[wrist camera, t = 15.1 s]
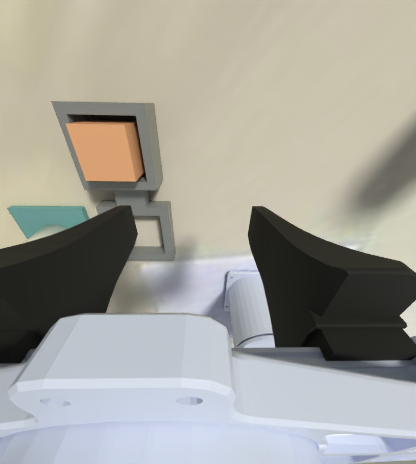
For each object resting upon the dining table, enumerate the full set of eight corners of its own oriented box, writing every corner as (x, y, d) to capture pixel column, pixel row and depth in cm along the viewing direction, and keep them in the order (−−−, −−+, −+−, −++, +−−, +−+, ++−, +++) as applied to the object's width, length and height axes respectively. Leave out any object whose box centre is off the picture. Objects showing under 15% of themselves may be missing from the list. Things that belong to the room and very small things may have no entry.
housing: (175, 252, 25) (172, 268, 23) (119, 252, 25) (109, 268, 22) (159, 103, 16) (151, 103, 13) (69, 101, 16) (44, 101, 13)
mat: (105, 259, 26) (103, 262, 25) (45, 259, 25) (42, 262, 25) (84, 206, 21) (81, 209, 21) (11, 205, 21) (7, 208, 20)
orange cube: (148, 167, 18) (135, 181, 15) (107, 167, 18) (86, 180, 15) (140, 120, 16) (124, 124, 13) (94, 119, 16) (65, 123, 13)
